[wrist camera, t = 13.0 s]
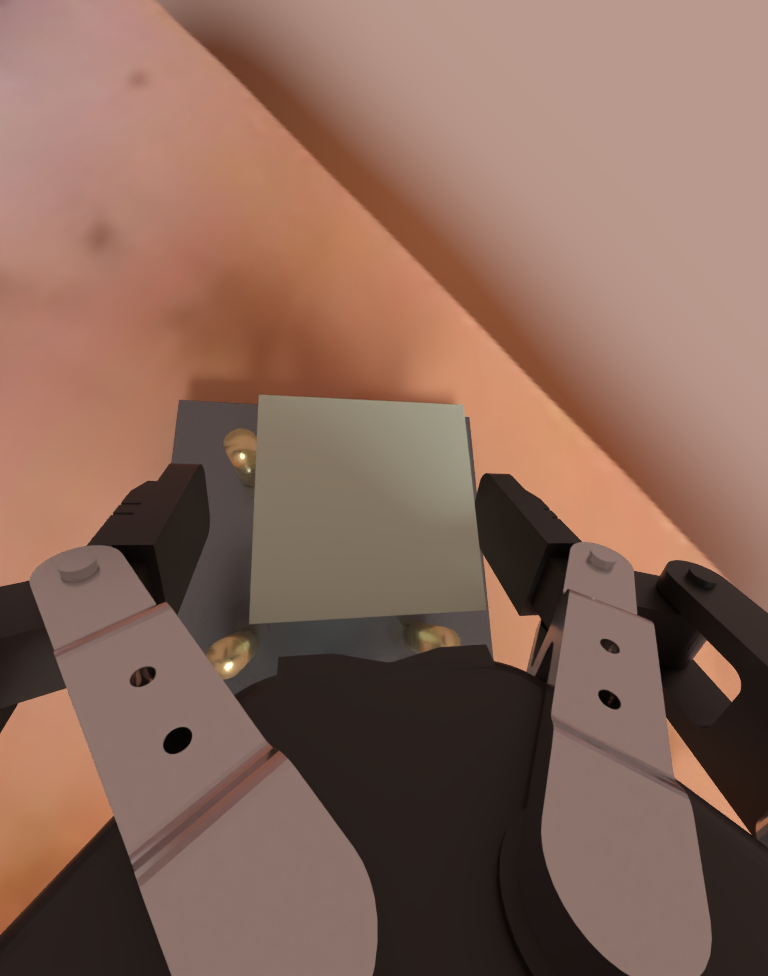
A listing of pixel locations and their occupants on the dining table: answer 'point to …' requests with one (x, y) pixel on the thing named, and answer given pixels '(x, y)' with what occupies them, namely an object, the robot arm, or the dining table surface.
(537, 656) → the robot arm
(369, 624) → the grey gold peg board
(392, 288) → the dining table surface
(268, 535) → the block
